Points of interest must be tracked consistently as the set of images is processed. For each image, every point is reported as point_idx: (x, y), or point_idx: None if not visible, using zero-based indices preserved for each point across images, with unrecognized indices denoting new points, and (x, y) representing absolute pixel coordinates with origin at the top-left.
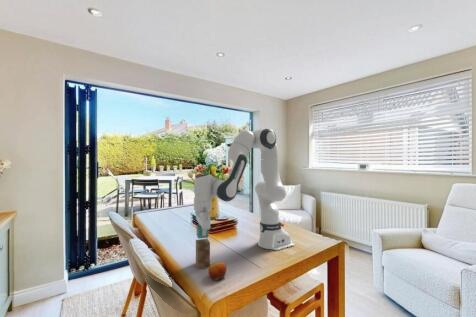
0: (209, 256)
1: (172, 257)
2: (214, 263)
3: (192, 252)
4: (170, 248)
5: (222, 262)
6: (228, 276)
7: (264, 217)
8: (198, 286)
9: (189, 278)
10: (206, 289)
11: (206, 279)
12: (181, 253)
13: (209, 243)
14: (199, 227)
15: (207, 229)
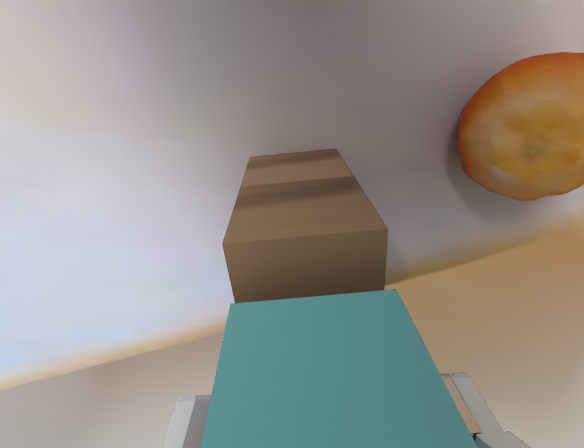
0: (349, 174)
1: (160, 342)
2: (574, 169)
3: (85, 243)
4: (26, 356)
5: (570, 85)
6: (528, 34)
7: None
8: (525, 234)
9: (428, 269)
10: (576, 199)
11: (483, 189)
12: (103, 303)
13: (384, 229)
14: None
15: (460, 439)
